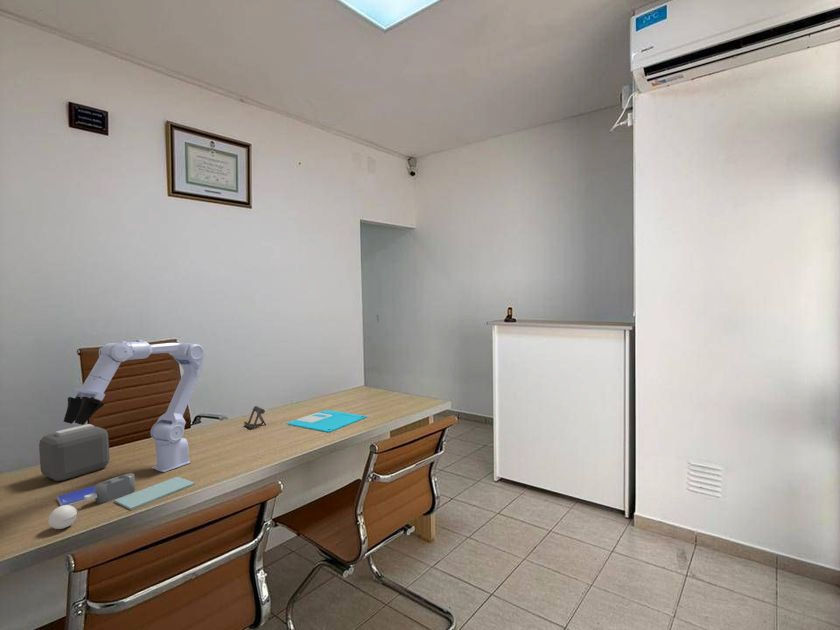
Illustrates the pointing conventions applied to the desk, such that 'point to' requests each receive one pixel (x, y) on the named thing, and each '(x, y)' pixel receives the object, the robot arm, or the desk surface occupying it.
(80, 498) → the hard drive
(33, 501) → the desk surface
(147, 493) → the mat
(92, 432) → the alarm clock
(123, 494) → the plug
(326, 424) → the square teal disk
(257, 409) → the portable electronic device stand
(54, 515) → the white egg
